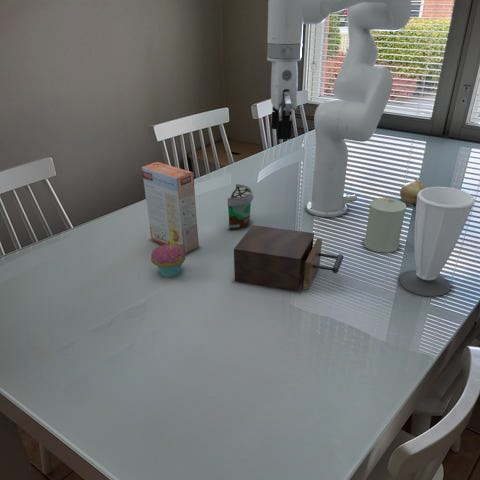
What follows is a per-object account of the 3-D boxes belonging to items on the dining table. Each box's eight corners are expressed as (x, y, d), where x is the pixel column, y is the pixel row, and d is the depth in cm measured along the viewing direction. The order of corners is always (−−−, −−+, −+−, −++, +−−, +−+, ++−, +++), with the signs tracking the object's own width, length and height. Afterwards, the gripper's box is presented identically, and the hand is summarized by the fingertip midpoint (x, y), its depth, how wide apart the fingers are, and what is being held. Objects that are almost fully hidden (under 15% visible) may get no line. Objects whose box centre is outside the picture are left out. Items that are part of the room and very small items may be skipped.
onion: (427, 206, 150) (432, 184, 146) (402, 207, 150) (406, 185, 146) (420, 197, 156) (424, 175, 152) (395, 197, 157) (399, 176, 153)
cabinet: (311, 264, 121) (314, 233, 116) (298, 292, 111) (300, 258, 106) (252, 255, 126) (252, 224, 121) (234, 281, 115) (233, 248, 110)
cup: (424, 302, 107) (447, 210, 94) (389, 278, 115) (405, 192, 102) (461, 288, 111) (488, 199, 98) (424, 267, 119) (444, 182, 106)
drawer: (343, 267, 118) (346, 242, 114) (333, 293, 108) (337, 267, 104) (264, 255, 124) (264, 231, 120) (248, 279, 114) (248, 253, 110)
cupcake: (192, 266, 121) (188, 223, 114) (178, 283, 115) (173, 238, 108) (162, 262, 124) (156, 218, 117) (146, 278, 117) (140, 233, 110)
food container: (249, 233, 137) (249, 200, 131) (228, 232, 138) (227, 198, 132) (256, 216, 146) (256, 184, 140) (237, 215, 147) (236, 183, 142)
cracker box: (200, 247, 130) (194, 171, 118) (183, 255, 126) (176, 177, 114) (167, 233, 138) (158, 160, 126) (150, 240, 134) (140, 165, 122)
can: (401, 240, 131) (409, 198, 124) (395, 255, 124) (403, 212, 117) (368, 235, 134) (374, 194, 127) (360, 249, 128) (366, 206, 121)
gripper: (308, 56, 98) (302, 142, 108) (294, 48, 112) (290, 125, 122) (272, 57, 98) (270, 143, 107) (262, 48, 112) (261, 125, 122)
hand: (280, 133), depth 115 cm, fingers open, 9 cm apart
